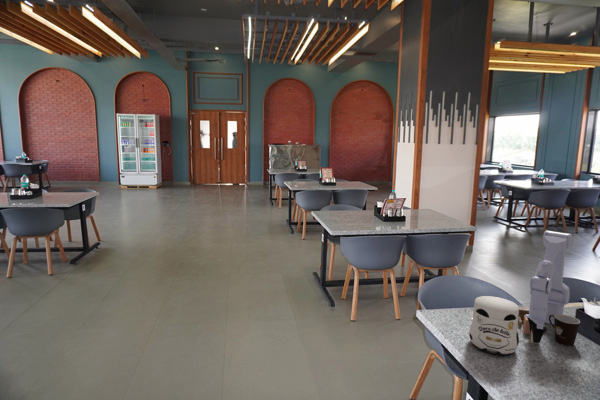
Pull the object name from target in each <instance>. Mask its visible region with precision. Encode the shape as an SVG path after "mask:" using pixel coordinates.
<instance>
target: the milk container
mask: <svg viewBox="0 0 600 400" xmlns="http://www.w3.org/2000/svg"><path fill="white" fill-rule="evenodd" d="M473 303H474V304H473V312H472V313H473V315H472V320H471V321H472V322H471V323H470V325H469V326H470V327H469V332H468V334H469V339H470V342H471V344H473V345H474V346H475V347H476V348H478V349H479V350H481V351H484V352H486V353H489V354H494V355H500V356H501V355H502V356H505V355H510V354H513V353H515V352H516V351H517V350H518V348H519V342H520V336H519V332H518V326H519V325H518V315H519V309H520V308H519V306H518V304H517V303H515V302H514V301H512V300H509V299H506V298H503V297H499V296H498V297H497V296H493V295H492V296H491V295H490V296H489V295H482V296H478V297H476V298H475V299H474V302H473Z"/></svg>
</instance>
